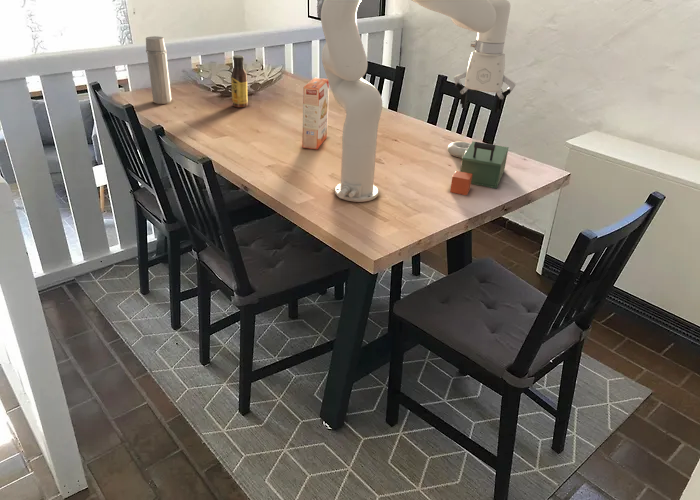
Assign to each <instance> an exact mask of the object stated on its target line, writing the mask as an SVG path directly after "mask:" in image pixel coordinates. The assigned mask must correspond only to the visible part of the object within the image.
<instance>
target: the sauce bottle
mask: <svg viewBox="0 0 700 500" xmlns="http://www.w3.org/2000/svg"><path fill="white" fill-rule="evenodd" d="M232 57H233V58H232V60H233V69H232V72H231V76H230V82H231V83H230V85H231V86H230V87H231V102H232V106H233V107H235V108H247V106H248V102H249V101H248V77H247V72H246V69H245V68H244V60H245V57H244V55H241V54H235V55H233V56H232Z"/></svg>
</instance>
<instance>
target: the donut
mask: <svg viewBox="0 0 700 500" xmlns="http://www.w3.org/2000/svg"><path fill="white" fill-rule="evenodd" d="M471 143H472V142H468V141H453V142H451V143H449V144H448V146H447V152H448V153H449V155H451V156H453V157H455V158H460V159H462V157H463V156H464V154H465V152H466V151H467V149H468V148H469V146H470V145H471Z"/></svg>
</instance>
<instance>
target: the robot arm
mask: <svg viewBox="0 0 700 500" xmlns="http://www.w3.org/2000/svg"><path fill="white" fill-rule="evenodd" d="M411 1H412V2H414V3H415V4H417V5H419V6H420V7H423V8H425V9H427V10H429V11H433V12H435V13H439V14H442V15H445V16H446V17H447V18H450V20H451V22H452V23H453V24H454V25H455V26H457V27H459V28H462V29H464V30H468V31H470V32H474V33H476V34H477V36H476V40H474V41H471V42H470V47H471V48H474V50H473V51H472V52H471V54H470V56H469V60H468V65H467V70H466V71H464V72H461V73H459V74H457V75H455V76H454V77H453V80H454V83H455V87H456V88H457V90H458V91H459V93H460V101H459V104H460V105H461V109H464V108H465V107H466V106H467V99H468V90H473V91H478V92H479V91H480V92H487V93H496V96H498V97H497V99H496V102H495V108H494V113H495V114H498V113H499V111H501V110H502V107H503V101H504V98H505V97H507V96H509V95H510V93H511V92H512V91H513V89H515V87H516V85H517V84H516V83H515V82H514V81H513V80H511V79H510V78H509V77H507V76H506V75H505V69H506V68H505V67H506V54H505V53H504V48H505V41H506V36H507V30H508V23H509V17H510V12H511V2H510V1H509V0H411ZM361 2H362V0H323V2H322V5H321V9H320V10H321V11H320V23H321V27H322V33H323V36H324V39H325V43H324V44H323V47H322V50H321V63H322V65H323V69H324V72H325V76H326V79H328V82H329V88H330V91H331V93H332V96H333V98H334V100H335V101H336V103H337V105H339V106H340V107H341V108H342V109H343V110H344V111H345V119H344V122H343V127H342V133H341V134H342V135H341V137H342V139H341V162H340V163H341V165H340V183H338V184H337V185H335V187H334V193H335V195H336V196H337V197H338V198H339V199H340V200H341V199H342V200H343V201H346V202H347V201H348V202H355V203H362V202H363V203H364V202H365V203H366V202H369V201H370V202H371V201H372V200H375V199H376V198H377V197H378V195H379V188H378V187H377V186H375V171H376V156H377V144H378V141H377V140H378V131H379V125H380V124H379V123H380V119H381V116H382V110H383V98H382V95H381V93H380V91H379V90H378V89H377V87H375V86H374V85H373V84H371V83H370V82H368V81H367V80H365V79H364V76H365V75H366V73H367V71H368V63H369V62H368V57H367V54H366V51H365V48H364V44H363V41H362V37H361V35H360V32H359V31H360V30H359V26H358V22H357V12H358V8H359V5H360V3H361ZM462 79H465V80H464V85H463V84H462V82H461V80H462ZM503 84H506V85H507V86H508V87H507V89H505V90H503V89H502V87H503Z"/></svg>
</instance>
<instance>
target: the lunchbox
mask: <svg viewBox="0 0 700 500" xmlns="http://www.w3.org/2000/svg"><path fill="white" fill-rule="evenodd" d="M508 154H509V150H508V151H507V153H506V156H505V158H504V160H503V162H502V165H501V167H499V166H494V165H488V164H482V163H477V162H471V161H465V160H462V159H461V164H460V172H465V173H471V174H472V180H471V185H476V186H480V187H486V188H492V189H497V188H498V187H499V184H500V182H501V179H502V177H503V175H504V173H505V168H506V163H507V158H508Z"/></svg>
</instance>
